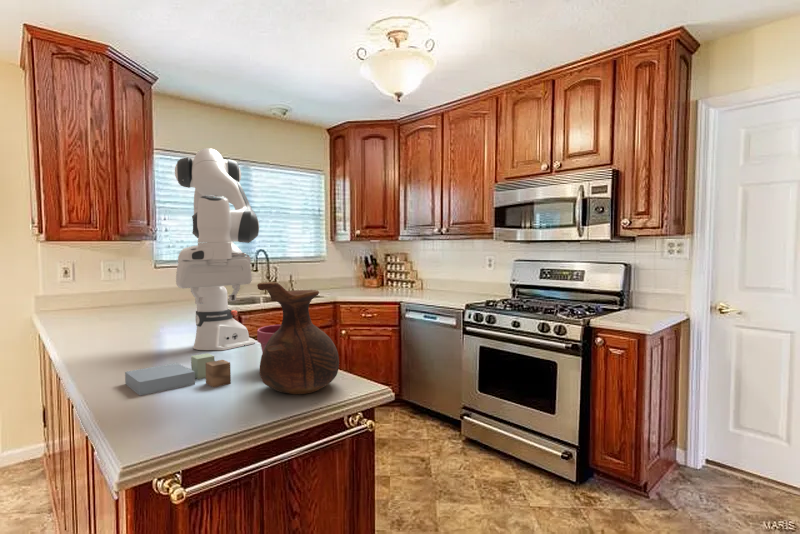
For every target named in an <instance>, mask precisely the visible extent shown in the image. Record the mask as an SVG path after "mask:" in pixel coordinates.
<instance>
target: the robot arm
mask: <svg viewBox="0 0 800 534" xmlns="http://www.w3.org/2000/svg"><path fill="white" fill-rule="evenodd" d="M174 175H175V178H176V180H177V182H178V184H179V185H180V186H181V187H183V188H189V189H190V188H194V196H193V215H192V216H191V217H192V232H191V233H192V235H194V237H196V238H197V245H192V246H187V247H184V248H182V249H181V251H180V252H179V254H178V257H177V262H178V264H177V267H176V271H175V272H176V273H175V274H176V276H175V279H176V280H175V284H176V286H177V287H178V288H180V289H190V293H191V294H192V296H193V297H194V298H195V299H194V300H195V302H194V303H195V305H196V310H195V325H196V329H195V330H196V332H195V338H194V343H193V346H192V347H193V349H194V350H199V351H226V350H230V349H231V350H232V349H235V348H239V347H245V346H249V345H253V344H255V343H256V341H255V339H254V338H252V337H250V335H249V331H248V328H247V326H245V325H243V324H242V323H241V322H240V321H237V320H236V319H235V318H233V317H235V316H237V315H238V311H237V310H234V309H232V310H231V309H229V302H236V301H237V295H238V293H239V291H240V289H241V285H250V284H251V283H252V281H253V277H252V267H251V264H252V263H251V260H252V259H251V257H250V255H248V254H247V253H246V252H243V251H242V250H241V249H240V248H239V247H238V246H237V245H236V244H235V243H234V242H236V243H237V242H238V243H247V244H249V243H251V242H252V241H254V240H255V239H256V238H257V237H258V236H259V233H260V223H259V222H260V221H259V219H258V216H257V214H256V213H255V211H254V209H253V208H252V206H251V204H250V202H249V199H248V197H247V195H246V193H245V191H244V188H243V187H242V185H241V180H242V170H241V168H240V165H239V163H238V162H237V161H236V160H233V159H230V158H229V159H228V158H227V159H224V157H223V155H221V153H220V152H219V151H217V150H216V149H214V148H209V147H207V148H202V149H200V150H199V151H197V152H196V154H195V156H194V157H183V158H180V159H179V160H177V162H176V164H175V168H174ZM230 204H231V205H233V207H234V209H231V207H230ZM227 286H232V287H231V289H233V290H232V292H231V294H228V290H227V288H226V287H227ZM228 301H229V302H228ZM244 345H245V346H244Z"/></svg>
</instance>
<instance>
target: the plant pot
mask: <svg viewBox="0 0 800 534" xmlns="http://www.w3.org/2000/svg"><path fill="white" fill-rule="evenodd" d="M280 326H281V324H272V325H265V326H262V327H258V329H257V331H256V333H257V338H256V339H257V342H258V343H259V344H260V348H261V351H262V353H263V351H264V349H265V347H266V345H267V343H268V341H269V339H270V338H271V336H272V335H273V334H274V333H275V332H276V331H277V330H278V329H279V328H280Z"/></svg>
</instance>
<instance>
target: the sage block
mask: <svg viewBox="0 0 800 534" xmlns="http://www.w3.org/2000/svg"><path fill="white" fill-rule="evenodd" d="M190 361H191V362H190V363H191V364H190V366H191V367H190V370H192V371H194V372H195V379H197V380H200V379H201V380H202V379H206V363H207V362H212V361H216V360H215V355H213V354H211V353H202V354H201V353H200V354H196V355H195V354H194V355H191V356H190Z"/></svg>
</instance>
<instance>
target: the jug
mask: <svg viewBox="0 0 800 534" xmlns="http://www.w3.org/2000/svg"><path fill="white" fill-rule="evenodd" d="M256 286H257V289H258V290H260V291H267V292H268V294H269V296H270V299H271V300H272V301H275V302H277V303H278V304H279V305H280V306H281V308H282V321H281V324H280V325H281V326H280V328H279V329H278V330H277V331H276V332H275V333H274V334H273V335H272V336H271V338H270V339H269V341H268V343H267V345H266V347H265V349H264V351H263V353H262V354H261V357H260V362H259V375H260V379H261V381H262V383H263V384H264V385H265V386H267V387H269V388H270V389H271V388H272V389H274V390H275V391H276V392H279V393H282V394H283V393H284V394H290V395H304V394H305V395H306V394H312V393H315V392H318V391H320V389H322V388H324V387H326V386H328V385H329V384H331V383H332V381H334V380H335V378H336V377H337V374H338V373H339V368H340V358H339V352H338V349H337V347H336V345H335V343H334V341H333V340H332V339H331V337H330V336H329V335H328V334H327V333H326V332H325V331H324V330H322V329H320V328H319V327H318V326H317V325H315V324H313V322H312V319H311V314H310V311H309V310H310V309H309V307H310V304H311V302H312V300H313V299H314V298H316V297H317V296H318V295H319V294H320V291H319V290H316V289H300V290H299V289H297V290H296V289H295V290H287V289H286V288H284V287H283V286H282V285H281V284H280V283H279V282H276V281H269V282H268V281H265V282H259V283H257V285H256Z"/></svg>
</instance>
